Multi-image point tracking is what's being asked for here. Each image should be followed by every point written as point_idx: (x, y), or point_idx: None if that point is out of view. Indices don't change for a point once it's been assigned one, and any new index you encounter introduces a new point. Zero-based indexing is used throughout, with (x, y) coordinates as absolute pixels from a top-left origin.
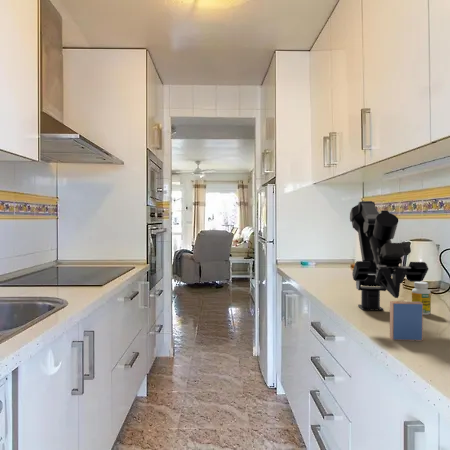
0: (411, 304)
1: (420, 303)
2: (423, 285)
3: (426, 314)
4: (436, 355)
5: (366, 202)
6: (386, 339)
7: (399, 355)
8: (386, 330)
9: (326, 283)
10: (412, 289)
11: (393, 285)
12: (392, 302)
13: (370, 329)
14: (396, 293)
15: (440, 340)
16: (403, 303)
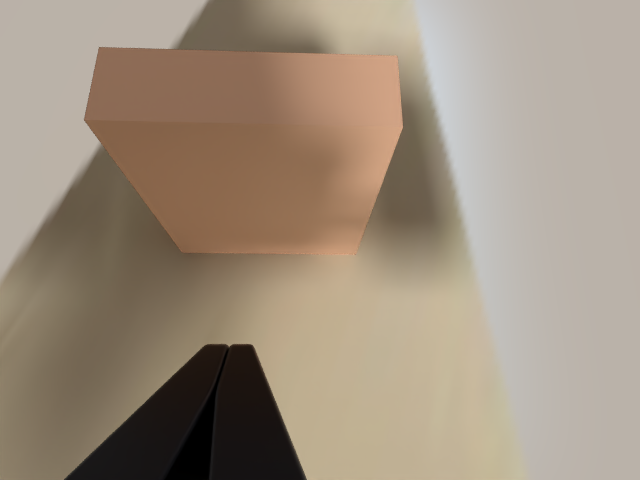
0: (218, 53)
1: (122, 48)
2: None
3: None
4: (237, 12)
5: None
6: (386, 216)
7: (394, 8)
8: (324, 424)
9: None
10: None
11: (232, 454)
12: (395, 70)
13: (434, 443)
14: (233, 355)
15: (76, 217)
16: (292, 56)
